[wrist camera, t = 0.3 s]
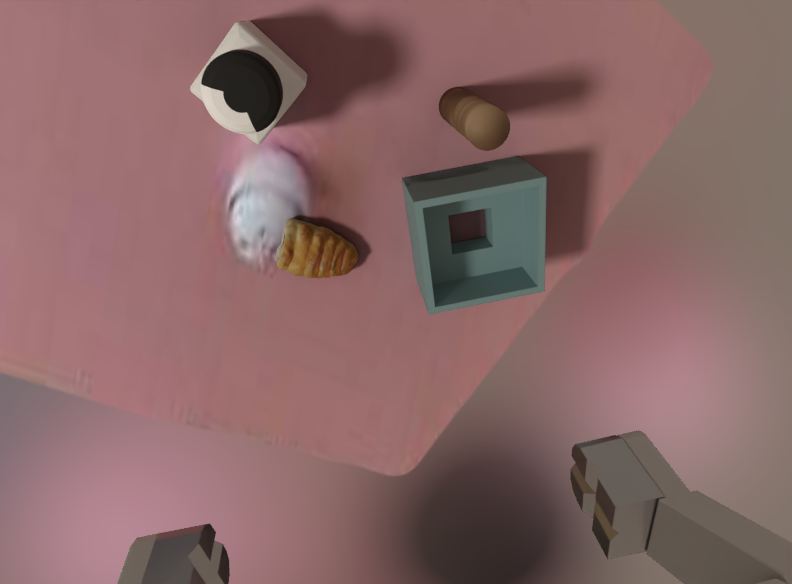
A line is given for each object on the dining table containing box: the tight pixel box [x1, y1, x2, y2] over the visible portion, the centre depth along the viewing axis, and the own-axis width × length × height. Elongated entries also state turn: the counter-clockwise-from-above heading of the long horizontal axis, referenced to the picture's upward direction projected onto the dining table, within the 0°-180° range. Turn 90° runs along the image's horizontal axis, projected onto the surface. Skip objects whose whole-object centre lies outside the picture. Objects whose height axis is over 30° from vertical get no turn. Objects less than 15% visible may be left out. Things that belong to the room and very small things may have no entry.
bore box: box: [402, 156, 546, 314], centre depth 55 cm, size 14×14×8 cm
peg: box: [439, 87, 510, 151], centre depth 46 cm, size 4×4×12 cm
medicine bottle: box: [190, 21, 308, 144], centre depth 42 cm, size 7×7×12 cm
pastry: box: [276, 219, 359, 278], centre depth 56 cm, size 9×7×4 cm
